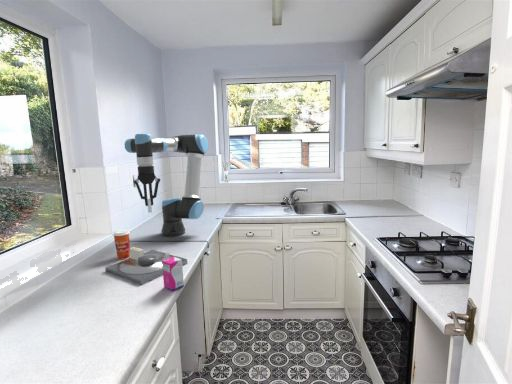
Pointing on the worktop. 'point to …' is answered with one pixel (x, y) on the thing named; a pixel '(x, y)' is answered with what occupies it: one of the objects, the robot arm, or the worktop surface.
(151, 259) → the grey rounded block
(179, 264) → the supplement box
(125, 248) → the paper cup
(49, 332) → the worktop surface
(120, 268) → the panel
